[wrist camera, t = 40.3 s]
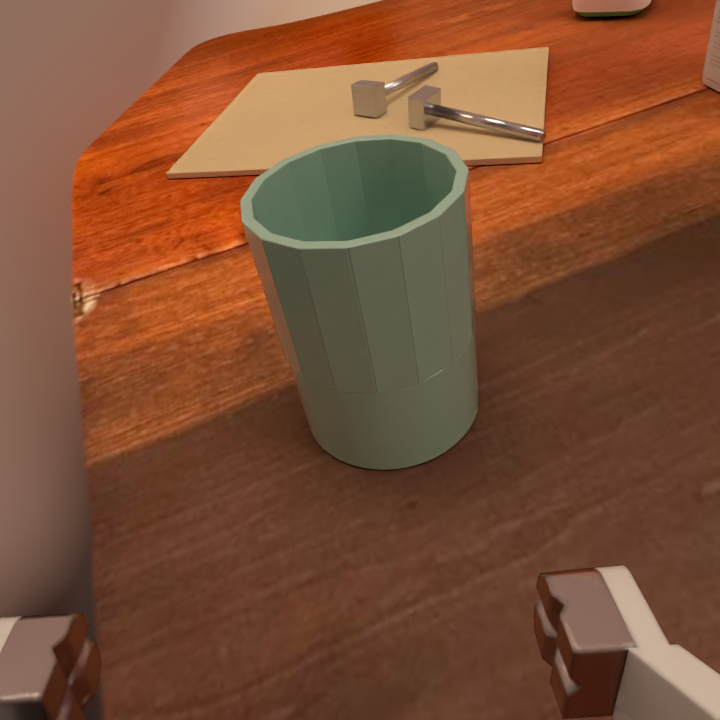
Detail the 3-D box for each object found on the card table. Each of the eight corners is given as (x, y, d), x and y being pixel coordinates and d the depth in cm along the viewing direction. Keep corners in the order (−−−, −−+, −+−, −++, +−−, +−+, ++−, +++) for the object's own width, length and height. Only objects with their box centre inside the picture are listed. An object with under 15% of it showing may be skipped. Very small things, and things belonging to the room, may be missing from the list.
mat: (167, 178, 43) (165, 173, 42) (258, 78, 55) (257, 73, 55) (541, 162, 36) (541, 155, 36) (548, 52, 48) (548, 46, 48)
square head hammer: (424, 50, 48) (350, 84, 43) (447, 52, 47) (373, 87, 42) (425, 78, 49) (353, 114, 44) (447, 80, 48) (376, 117, 43)
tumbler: (286, 463, 23) (205, 250, 17) (331, 342, 27) (280, 140, 21) (470, 477, 21) (452, 246, 15) (485, 346, 26) (476, 128, 20)
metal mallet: (534, 160, 37) (408, 127, 41) (550, 145, 38) (426, 114, 42) (538, 126, 35) (407, 96, 40) (555, 112, 37) (425, 84, 41)
